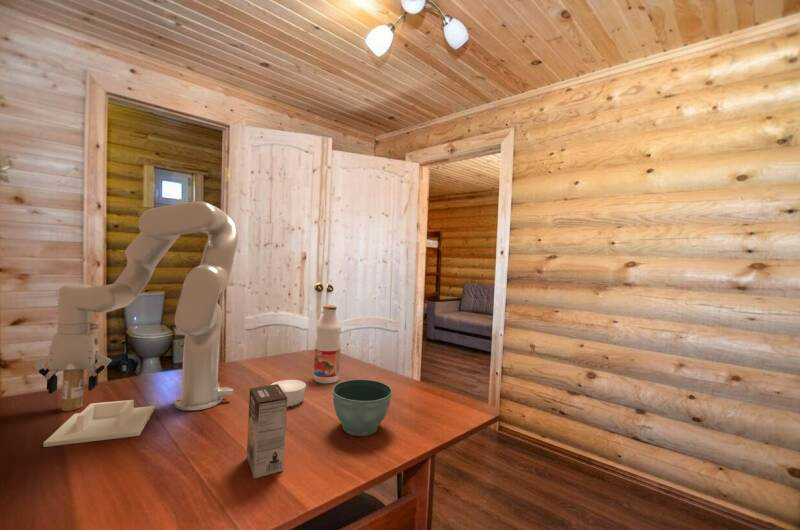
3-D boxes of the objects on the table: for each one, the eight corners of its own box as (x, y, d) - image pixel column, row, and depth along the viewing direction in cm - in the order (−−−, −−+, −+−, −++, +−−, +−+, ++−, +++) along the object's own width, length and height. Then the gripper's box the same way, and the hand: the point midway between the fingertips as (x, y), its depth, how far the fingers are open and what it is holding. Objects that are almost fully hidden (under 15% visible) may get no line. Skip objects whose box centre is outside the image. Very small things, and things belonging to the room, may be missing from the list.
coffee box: (245, 457, 81) (248, 387, 81) (274, 450, 84) (277, 383, 84) (253, 479, 73) (257, 401, 73) (285, 471, 77) (288, 396, 76)
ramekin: (260, 404, 110) (260, 387, 110) (284, 392, 120) (285, 377, 120) (289, 412, 106) (290, 394, 106) (312, 399, 116) (312, 383, 116)
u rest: (154, 409, 103) (155, 393, 103) (139, 435, 88) (140, 417, 88) (74, 417, 96) (75, 400, 95) (43, 447, 81) (44, 427, 81)
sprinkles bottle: (81, 409, 100) (83, 361, 100) (59, 412, 98) (61, 363, 97) (84, 403, 104) (86, 357, 104) (63, 406, 101) (65, 359, 101)
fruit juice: (344, 380, 136) (347, 306, 135) (324, 386, 128) (328, 308, 128) (327, 374, 142) (331, 303, 141) (308, 379, 134) (312, 305, 134)
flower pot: (398, 422, 103) (400, 384, 103) (376, 449, 88) (378, 405, 87) (347, 411, 108) (349, 375, 108) (318, 435, 93) (321, 393, 93)
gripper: (117, 325, 107) (115, 383, 108) (41, 326, 101) (39, 388, 101) (109, 330, 100) (106, 392, 101) (26, 332, 94) (23, 398, 94)
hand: (72, 390), depth 101 cm, fingers open, 8 cm apart
